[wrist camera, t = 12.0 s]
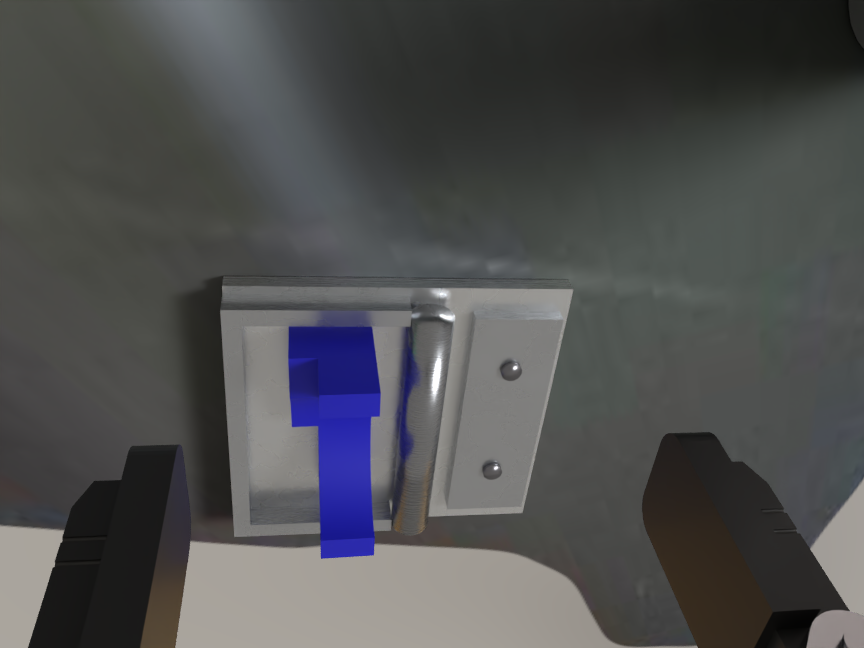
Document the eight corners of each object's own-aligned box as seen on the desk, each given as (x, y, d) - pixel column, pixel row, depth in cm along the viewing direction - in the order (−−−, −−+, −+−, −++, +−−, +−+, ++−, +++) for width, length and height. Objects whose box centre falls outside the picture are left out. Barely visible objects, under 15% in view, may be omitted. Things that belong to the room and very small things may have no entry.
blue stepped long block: (288, 325, 44) (287, 396, 39) (371, 323, 44) (380, 393, 39) (294, 482, 50) (294, 560, 45) (366, 479, 51) (373, 555, 46)
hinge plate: (568, 279, 46) (585, 313, 43) (518, 502, 56) (530, 540, 53) (223, 275, 42) (218, 311, 40) (237, 511, 53) (233, 553, 50)
